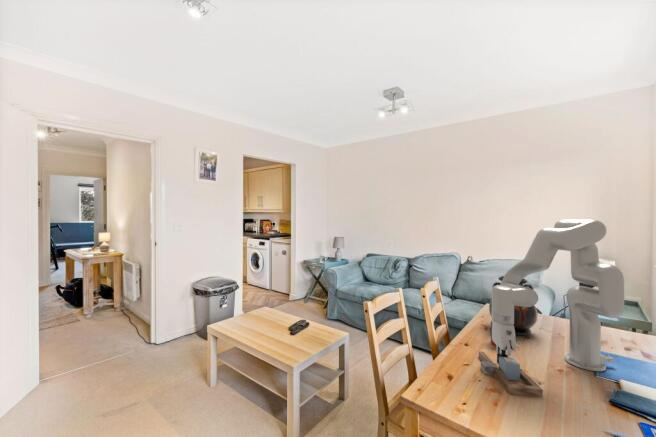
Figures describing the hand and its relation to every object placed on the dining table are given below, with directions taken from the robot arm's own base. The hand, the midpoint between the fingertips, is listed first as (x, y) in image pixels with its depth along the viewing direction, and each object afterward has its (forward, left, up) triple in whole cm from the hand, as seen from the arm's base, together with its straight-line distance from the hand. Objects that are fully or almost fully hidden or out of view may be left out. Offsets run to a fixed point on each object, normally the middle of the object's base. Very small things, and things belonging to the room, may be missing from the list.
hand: (502, 364), depth 110 cm
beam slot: (+2, +3, -2) cm, 4 cm away
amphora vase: (-24, -42, -2) cm, 48 cm away
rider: (0, +5, -2) cm, 6 cm away
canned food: (-10, -24, -2) cm, 26 cm away
